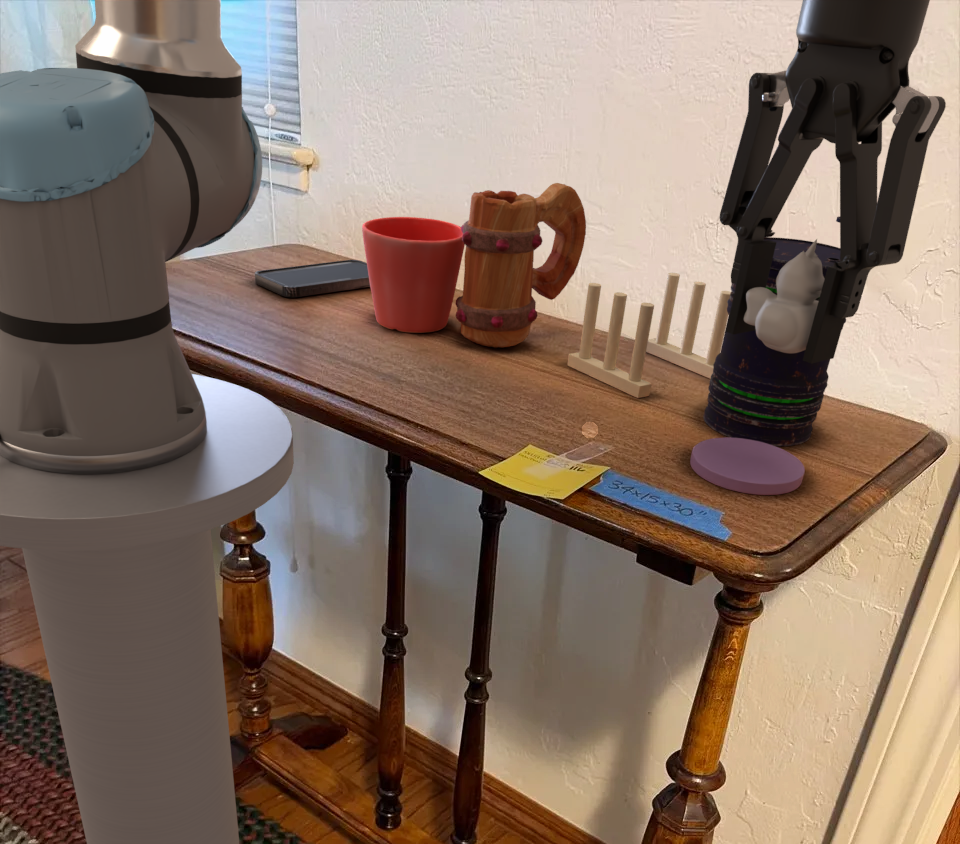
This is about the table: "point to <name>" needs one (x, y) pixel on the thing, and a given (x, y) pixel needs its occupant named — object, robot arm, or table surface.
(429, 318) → the flower pot
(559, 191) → the mug
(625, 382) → the rack
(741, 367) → the dark blue barrel
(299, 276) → the phone
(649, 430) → the table surface
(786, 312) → the grey lumpy piece
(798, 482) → the purple coaster
